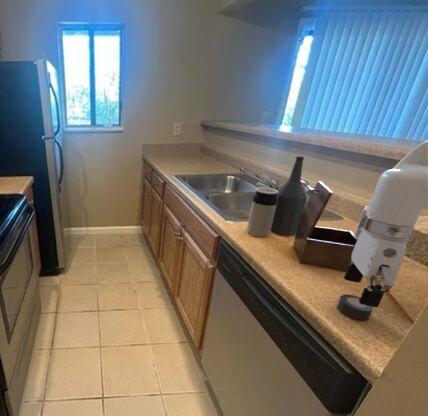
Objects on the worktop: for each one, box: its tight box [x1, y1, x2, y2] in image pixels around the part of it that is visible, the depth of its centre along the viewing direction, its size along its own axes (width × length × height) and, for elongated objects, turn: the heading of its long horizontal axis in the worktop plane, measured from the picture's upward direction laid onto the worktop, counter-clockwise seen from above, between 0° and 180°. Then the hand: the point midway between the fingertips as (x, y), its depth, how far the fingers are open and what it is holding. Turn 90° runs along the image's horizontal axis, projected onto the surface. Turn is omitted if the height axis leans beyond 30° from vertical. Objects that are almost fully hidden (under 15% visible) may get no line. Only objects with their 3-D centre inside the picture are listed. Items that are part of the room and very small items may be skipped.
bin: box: [292, 225, 358, 273], centre depth 89 cm, size 15×13×9 cm
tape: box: [336, 294, 374, 322], centre depth 67 cm, size 6×6×3 cm
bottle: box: [270, 155, 308, 237], centre depth 105 cm, size 10×10×30 cm
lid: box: [298, 180, 334, 238], centre depth 87 cm, size 15×13×5 cm
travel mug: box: [246, 186, 279, 238], centre depth 105 cm, size 8×8×18 cm
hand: (359, 292), depth 65 cm, fingers open, 9 cm apart
